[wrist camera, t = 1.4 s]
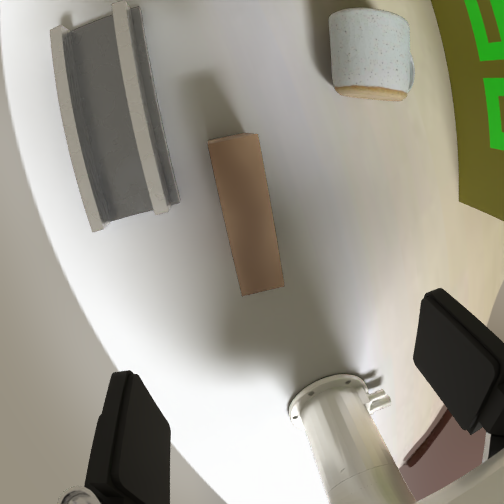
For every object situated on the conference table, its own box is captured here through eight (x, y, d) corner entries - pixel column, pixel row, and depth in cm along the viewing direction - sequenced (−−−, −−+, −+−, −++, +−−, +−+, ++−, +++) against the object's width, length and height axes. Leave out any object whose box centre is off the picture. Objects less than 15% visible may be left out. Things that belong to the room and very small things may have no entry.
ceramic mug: (321, 98, 27) (357, 91, 20) (316, 23, 24) (349, -2, 17) (408, 107, 29) (454, 107, 22) (404, 39, 26) (448, 27, 19)
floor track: (140, 9, 22) (133, -4, 18) (180, 200, 29) (177, 209, 26) (57, 41, 21) (42, 33, 18) (96, 223, 29) (85, 234, 26)
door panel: (244, 132, 28) (257, 134, 21) (266, 249, 33) (284, 286, 25) (207, 140, 28) (207, 144, 20) (233, 257, 33) (242, 296, 25)
